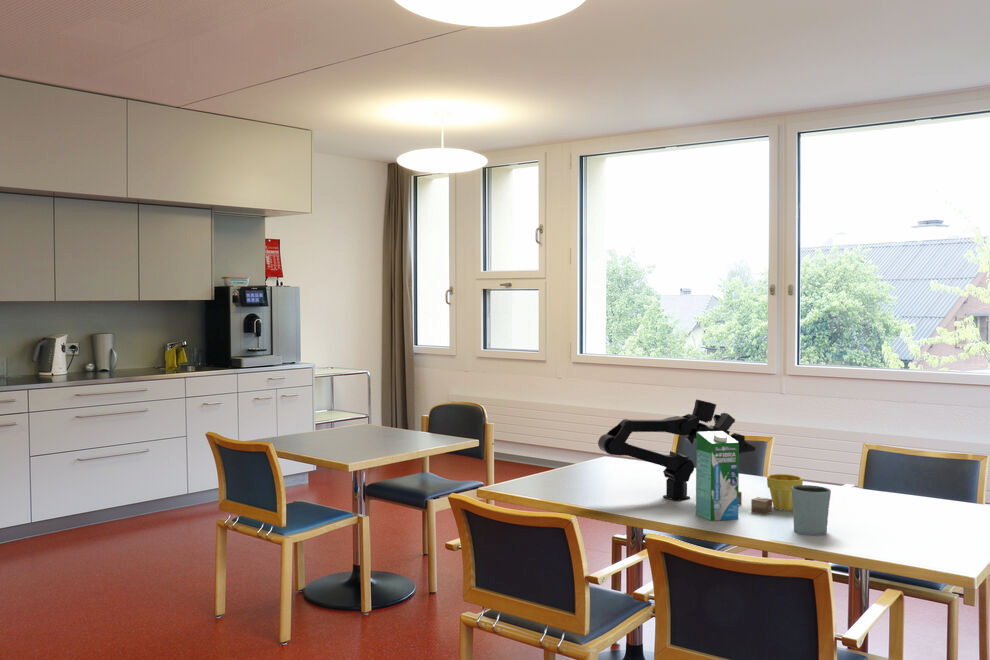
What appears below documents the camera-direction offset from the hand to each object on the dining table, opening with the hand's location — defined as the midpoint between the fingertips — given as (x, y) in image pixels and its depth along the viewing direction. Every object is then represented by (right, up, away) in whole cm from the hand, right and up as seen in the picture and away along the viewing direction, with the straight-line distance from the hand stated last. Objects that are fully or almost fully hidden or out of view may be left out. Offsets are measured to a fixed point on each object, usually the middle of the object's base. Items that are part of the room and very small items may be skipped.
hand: (748, 447), depth 272 cm
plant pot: (+6, -17, -19) cm, 26 cm away
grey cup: (+3, -17, -46) cm, 49 cm away
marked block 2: (-3, -16, -24) cm, 29 cm away
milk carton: (-19, -17, -30) cm, 39 cm away
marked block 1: (-9, -16, -12) cm, 22 cm away
